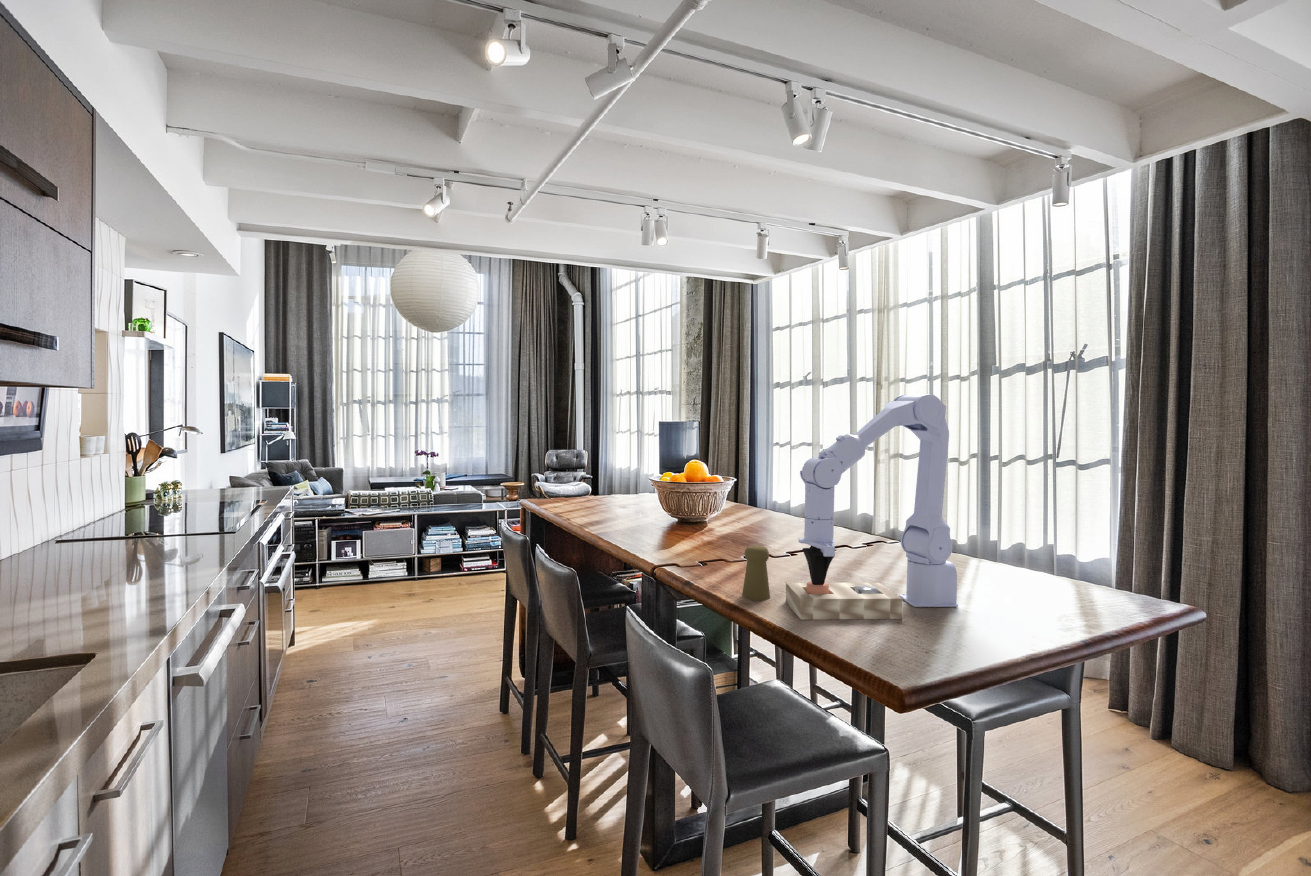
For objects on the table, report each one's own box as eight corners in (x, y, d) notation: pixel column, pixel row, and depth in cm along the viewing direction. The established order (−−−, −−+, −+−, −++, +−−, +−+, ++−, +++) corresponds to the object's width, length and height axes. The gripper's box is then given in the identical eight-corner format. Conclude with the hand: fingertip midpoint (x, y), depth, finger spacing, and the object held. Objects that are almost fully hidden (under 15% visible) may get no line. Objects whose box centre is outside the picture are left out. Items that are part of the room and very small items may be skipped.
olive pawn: (769, 601, 142) (770, 549, 142) (741, 599, 143) (741, 548, 143) (770, 593, 148) (771, 544, 148) (743, 591, 149) (743, 542, 149)
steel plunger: (872, 604, 139) (872, 585, 139) (880, 610, 135) (881, 590, 134) (851, 604, 139) (851, 585, 139) (858, 610, 134) (859, 590, 134)
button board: (878, 601, 143) (879, 582, 143) (902, 618, 131) (902, 598, 131) (785, 601, 142) (786, 582, 142) (800, 619, 130) (801, 599, 130)
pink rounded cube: (824, 600, 139) (825, 581, 138) (831, 606, 134) (831, 586, 134) (803, 600, 138) (804, 581, 138) (809, 606, 134) (810, 587, 134)
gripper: (790, 511, 142) (789, 575, 143) (809, 523, 128) (808, 594, 129) (823, 512, 143) (821, 575, 143) (846, 523, 128) (844, 594, 129)
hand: (817, 584), depth 136 cm, fingers closed, pressing on pink rounded cube
